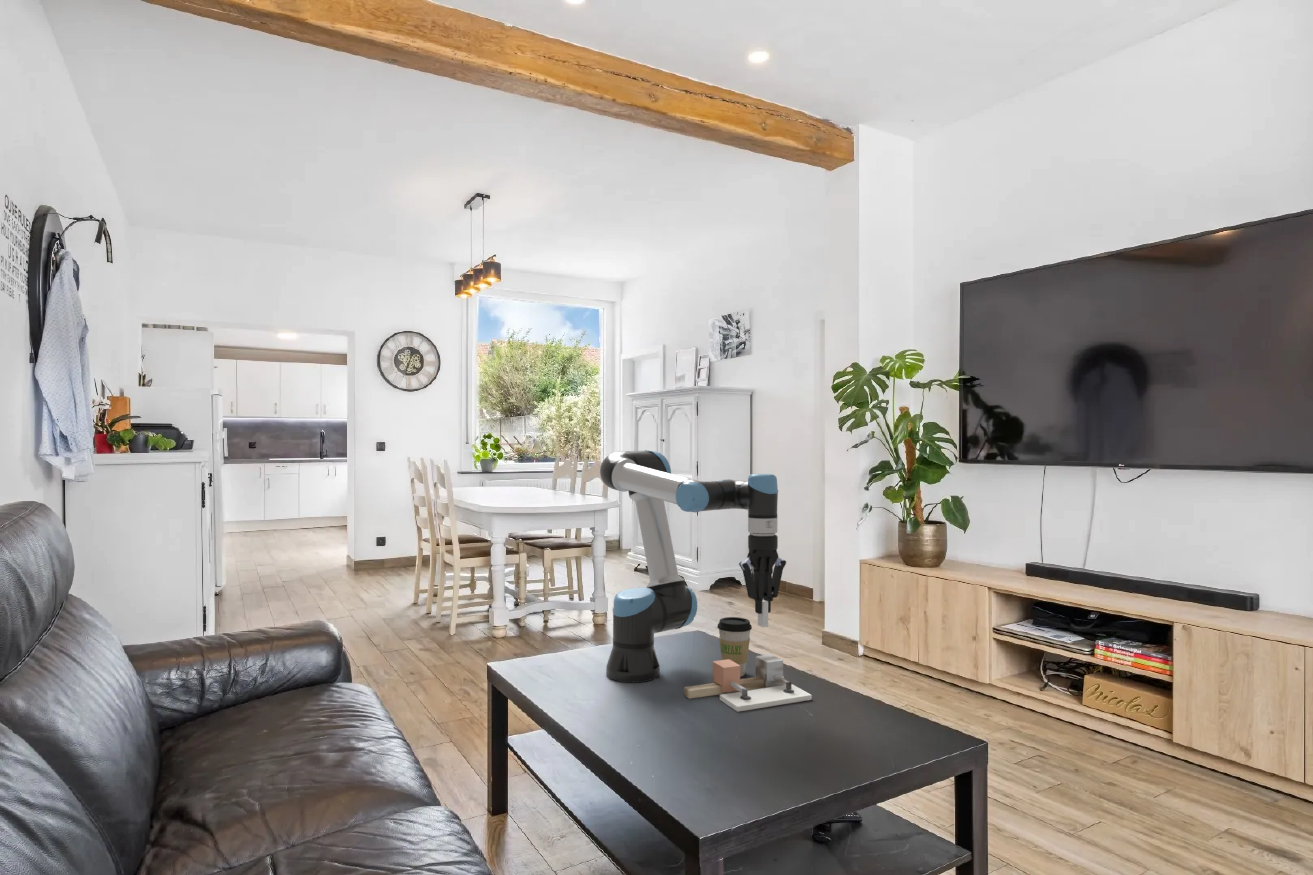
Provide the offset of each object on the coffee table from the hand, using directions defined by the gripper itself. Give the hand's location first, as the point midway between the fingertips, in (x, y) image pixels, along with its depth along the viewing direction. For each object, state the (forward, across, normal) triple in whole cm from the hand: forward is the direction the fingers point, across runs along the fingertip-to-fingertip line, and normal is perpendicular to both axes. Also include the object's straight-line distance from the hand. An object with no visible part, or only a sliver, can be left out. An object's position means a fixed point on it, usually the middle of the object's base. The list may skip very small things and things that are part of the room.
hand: (762, 625), depth 192 cm
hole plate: (+19, +1, 0) cm, 19 cm away
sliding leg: (+18, -6, +6) cm, 20 cm away
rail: (+19, -3, +6) cm, 20 cm away
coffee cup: (+19, +3, +22) cm, 29 cm away
